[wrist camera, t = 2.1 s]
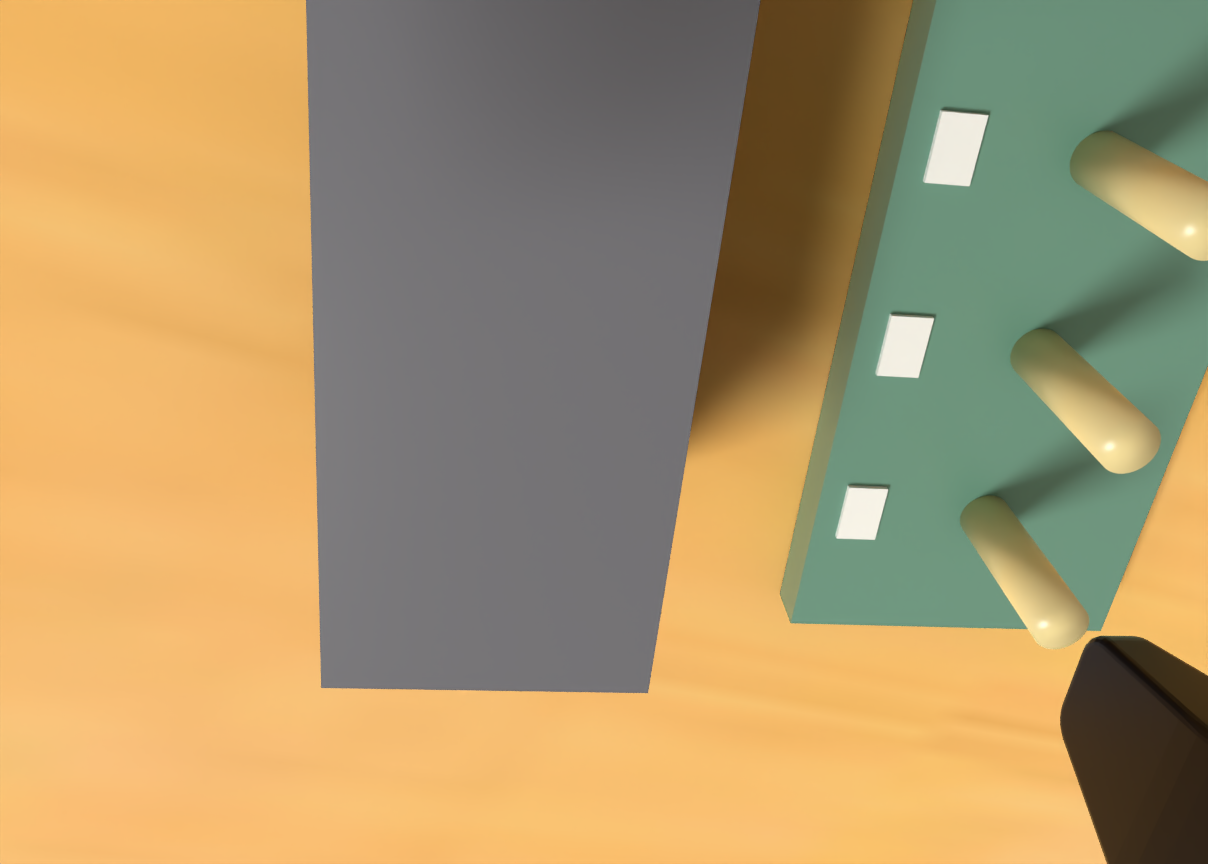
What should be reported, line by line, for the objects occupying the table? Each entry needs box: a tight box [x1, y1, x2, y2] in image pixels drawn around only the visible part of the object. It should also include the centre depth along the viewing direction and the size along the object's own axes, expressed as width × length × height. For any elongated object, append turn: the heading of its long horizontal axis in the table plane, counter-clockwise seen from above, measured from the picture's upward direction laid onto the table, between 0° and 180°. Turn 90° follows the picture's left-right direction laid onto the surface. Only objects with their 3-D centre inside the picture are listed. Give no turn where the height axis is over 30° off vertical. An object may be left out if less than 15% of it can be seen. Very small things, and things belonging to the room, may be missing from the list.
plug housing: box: [306, 0, 760, 693], centre depth 17 cm, size 12×5×6 cm, turn 174°
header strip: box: [780, 0, 1208, 649], centre depth 20 cm, size 13×7×4 cm, turn 174°
